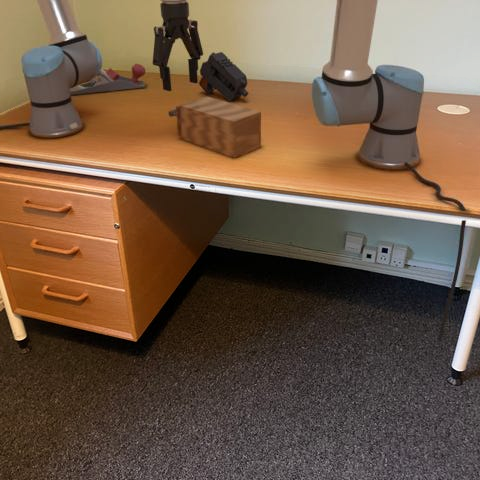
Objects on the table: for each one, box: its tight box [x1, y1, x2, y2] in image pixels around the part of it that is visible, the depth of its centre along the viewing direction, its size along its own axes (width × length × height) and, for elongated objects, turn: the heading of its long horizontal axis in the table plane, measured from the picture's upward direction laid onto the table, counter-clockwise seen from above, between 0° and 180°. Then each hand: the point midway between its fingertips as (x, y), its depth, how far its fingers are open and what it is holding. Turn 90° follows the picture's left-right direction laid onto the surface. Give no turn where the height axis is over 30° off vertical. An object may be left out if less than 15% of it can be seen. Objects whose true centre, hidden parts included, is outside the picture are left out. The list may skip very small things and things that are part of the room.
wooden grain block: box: [178, 96, 262, 159], centre depth 148 cm, size 21×10×10 cm, turn 47°
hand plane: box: [70, 63, 146, 96], centre depth 194 cm, size 7×31×15 cm, turn 107°
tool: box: [198, 51, 249, 102], centre depth 185 cm, size 6×19×15 cm, turn 51°
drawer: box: [167, 104, 181, 135], centre depth 151 cm, size 26×9×8 cm, turn 47°
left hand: (180, 86), depth 153 cm, fingers open, 9 cm apart
